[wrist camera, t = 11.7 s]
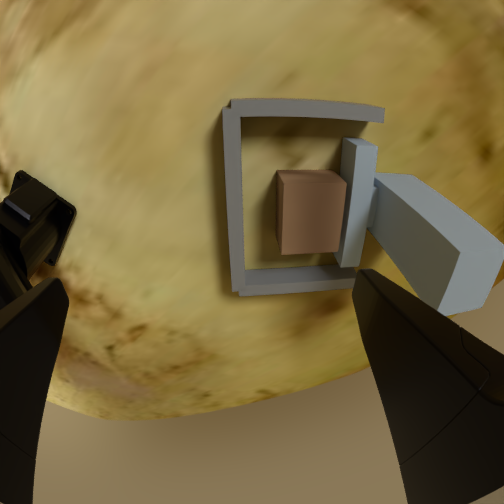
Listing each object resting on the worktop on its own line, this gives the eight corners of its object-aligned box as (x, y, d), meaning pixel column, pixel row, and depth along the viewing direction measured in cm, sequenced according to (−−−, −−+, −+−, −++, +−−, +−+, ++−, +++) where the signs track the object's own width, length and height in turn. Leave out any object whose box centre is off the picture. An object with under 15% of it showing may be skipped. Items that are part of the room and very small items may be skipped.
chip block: (275, 233, 23) (281, 254, 20) (276, 169, 20) (283, 183, 17) (326, 231, 23) (337, 251, 20) (331, 169, 20) (346, 183, 18)
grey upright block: (331, 249, 24) (384, 357, 14) (342, 137, 19) (438, 198, 9) (397, 246, 24) (465, 337, 15) (416, 144, 19) (522, 204, 10)
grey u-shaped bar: (232, 280, 24) (232, 296, 23) (222, 99, 17) (222, 101, 15) (349, 273, 25) (357, 287, 23) (371, 104, 18) (384, 108, 16)
